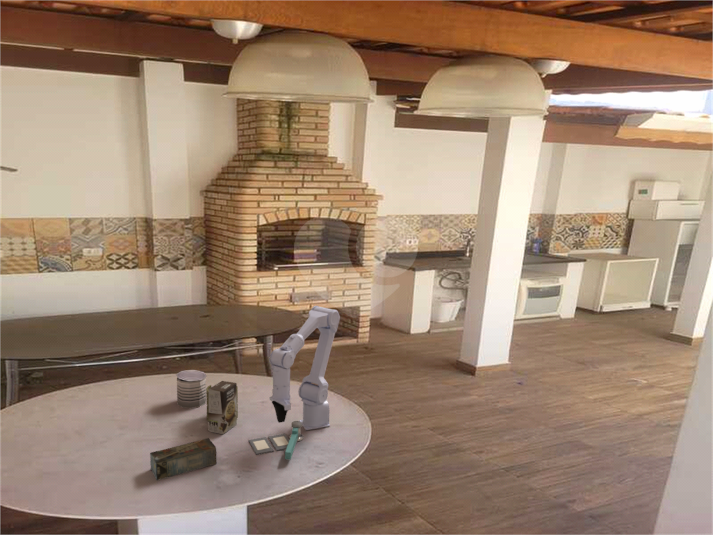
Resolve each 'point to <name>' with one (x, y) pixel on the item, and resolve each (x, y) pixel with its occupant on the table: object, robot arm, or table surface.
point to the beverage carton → (182, 458)
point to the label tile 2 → (279, 441)
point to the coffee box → (222, 407)
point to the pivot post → (299, 435)
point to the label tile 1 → (261, 445)
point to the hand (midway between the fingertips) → (281, 421)
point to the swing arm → (292, 439)
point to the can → (191, 388)
